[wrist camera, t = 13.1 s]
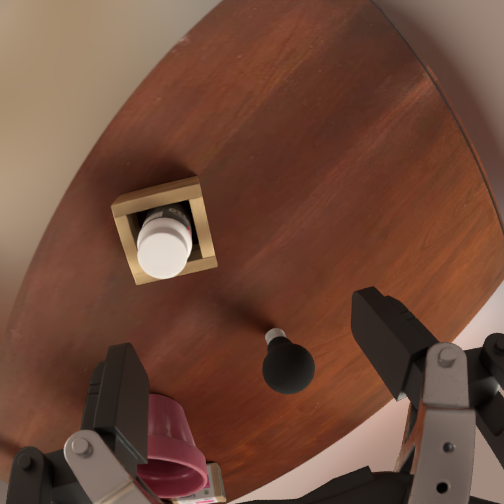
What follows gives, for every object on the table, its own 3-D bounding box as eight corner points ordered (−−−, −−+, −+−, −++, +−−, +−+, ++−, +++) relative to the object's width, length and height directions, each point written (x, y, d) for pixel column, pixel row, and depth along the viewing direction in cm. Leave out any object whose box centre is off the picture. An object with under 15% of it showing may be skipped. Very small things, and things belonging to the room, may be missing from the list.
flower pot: (95, 385, 38) (82, 457, 27) (187, 375, 40) (193, 453, 29) (129, 437, 44) (127, 499, 33) (207, 429, 46) (217, 494, 35)
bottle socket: (119, 195, 29) (110, 205, 25) (197, 175, 30) (199, 183, 26) (141, 267, 33) (136, 285, 29) (214, 250, 34) (217, 266, 30)
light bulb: (248, 349, 40) (266, 407, 31) (252, 313, 38) (273, 370, 29) (290, 346, 41) (315, 400, 32) (298, 311, 39) (328, 364, 30)
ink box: (216, 461, 51) (222, 496, 44) (220, 468, 53) (227, 501, 46) (167, 467, 50) (170, 502, 43) (174, 474, 52) (177, 507, 44)
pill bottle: (200, 227, 32) (205, 262, 25) (163, 252, 32) (158, 293, 25) (173, 190, 30) (168, 215, 23) (136, 218, 30) (121, 251, 23)
